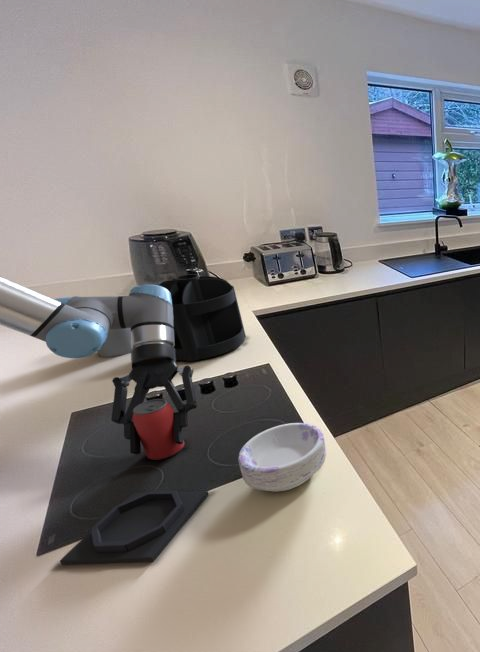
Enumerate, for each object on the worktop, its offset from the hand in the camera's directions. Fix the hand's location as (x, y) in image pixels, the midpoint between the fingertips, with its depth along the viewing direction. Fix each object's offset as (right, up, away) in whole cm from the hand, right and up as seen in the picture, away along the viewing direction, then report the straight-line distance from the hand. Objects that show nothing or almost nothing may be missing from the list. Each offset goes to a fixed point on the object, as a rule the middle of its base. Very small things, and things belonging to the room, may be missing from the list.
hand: (157, 447), depth 84 cm
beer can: (-2, -2, +4) cm, 5 cm away
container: (-29, +18, +52) cm, 62 cm away
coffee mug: (-57, +17, +47) cm, 76 cm away
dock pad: (+9, -10, -14) cm, 19 cm away
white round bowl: (+29, -5, -1) cm, 29 cm away
